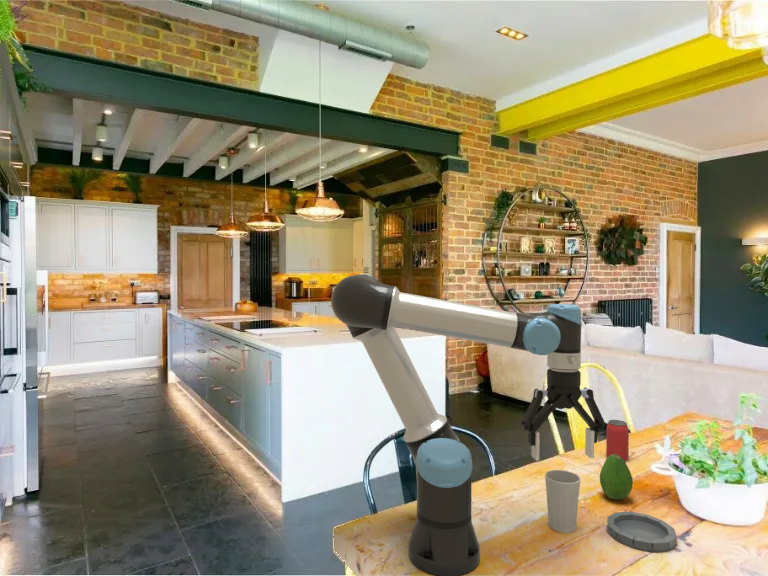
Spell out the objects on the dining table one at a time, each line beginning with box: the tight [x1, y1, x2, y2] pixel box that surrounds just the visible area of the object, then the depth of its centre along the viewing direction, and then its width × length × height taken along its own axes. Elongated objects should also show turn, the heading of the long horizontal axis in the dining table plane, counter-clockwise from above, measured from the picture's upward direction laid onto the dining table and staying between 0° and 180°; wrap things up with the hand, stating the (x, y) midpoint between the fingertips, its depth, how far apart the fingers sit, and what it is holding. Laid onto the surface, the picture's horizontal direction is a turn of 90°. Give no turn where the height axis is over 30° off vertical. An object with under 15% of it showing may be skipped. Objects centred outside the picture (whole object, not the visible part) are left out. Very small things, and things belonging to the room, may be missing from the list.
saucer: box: [606, 511, 678, 553], centre depth 113 cm, size 14×14×2 cm
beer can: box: [605, 419, 630, 462], centre depth 160 cm, size 7×7×12 cm
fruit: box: [599, 454, 634, 501], centre depth 131 cm, size 8×8×12 cm
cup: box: [544, 469, 581, 534], centre depth 117 cm, size 8×8×12 cm
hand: (562, 457), depth 117 cm, fingers open, 13 cm apart
